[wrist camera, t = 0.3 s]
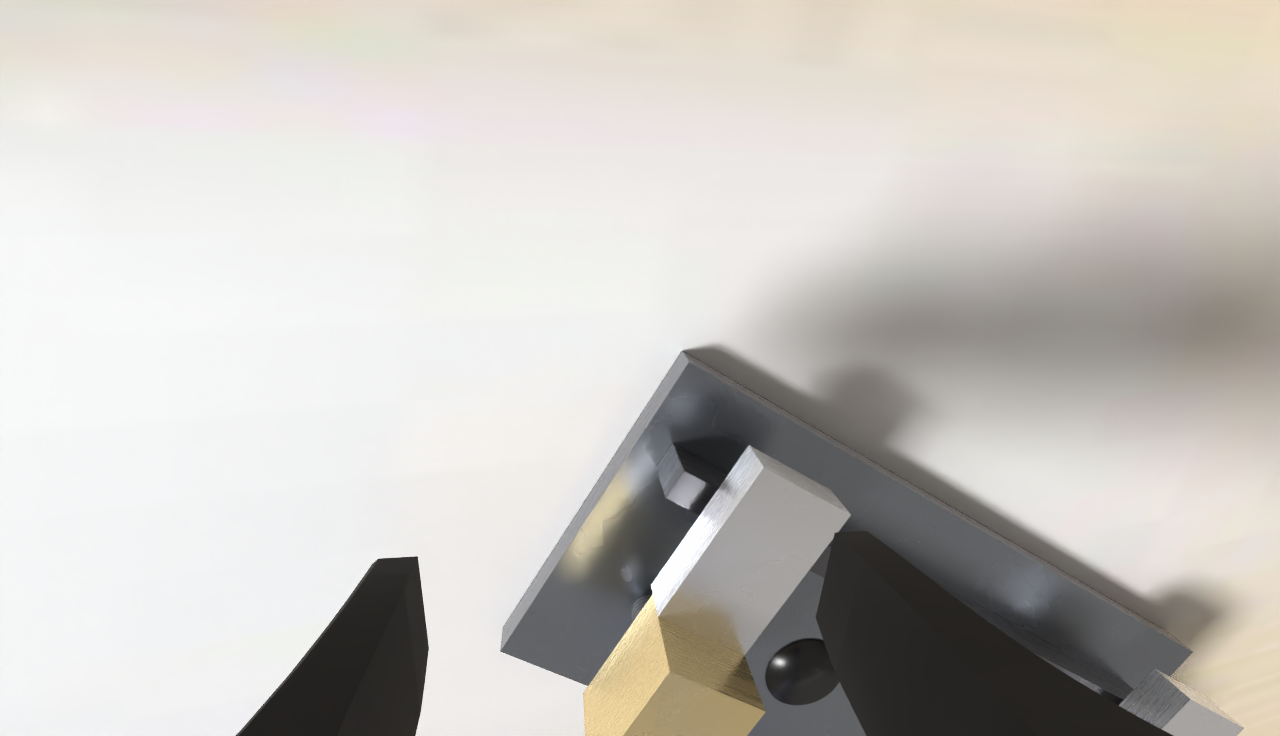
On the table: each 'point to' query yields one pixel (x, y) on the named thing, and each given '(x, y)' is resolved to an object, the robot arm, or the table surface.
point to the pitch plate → (820, 568)
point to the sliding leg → (714, 608)
